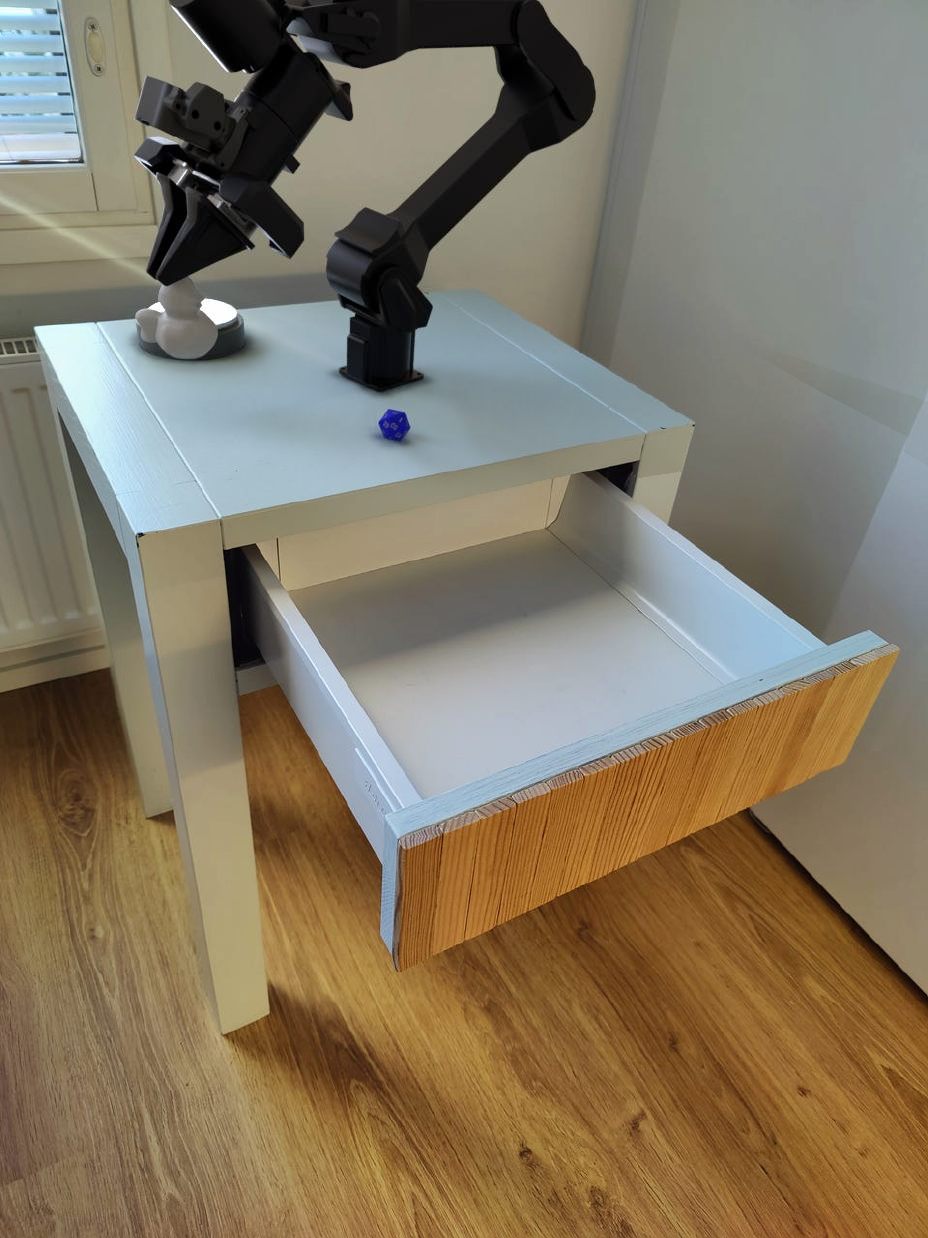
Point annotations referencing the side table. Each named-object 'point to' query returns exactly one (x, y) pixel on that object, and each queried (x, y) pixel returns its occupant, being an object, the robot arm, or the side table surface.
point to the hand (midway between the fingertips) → (155, 279)
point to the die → (394, 425)
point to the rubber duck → (179, 322)
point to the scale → (227, 326)
